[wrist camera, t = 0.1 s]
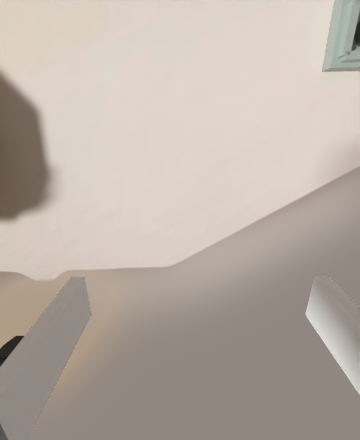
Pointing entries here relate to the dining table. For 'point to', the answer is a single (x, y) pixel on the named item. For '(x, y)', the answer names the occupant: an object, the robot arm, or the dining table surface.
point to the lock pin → (357, 34)
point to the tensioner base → (343, 38)
